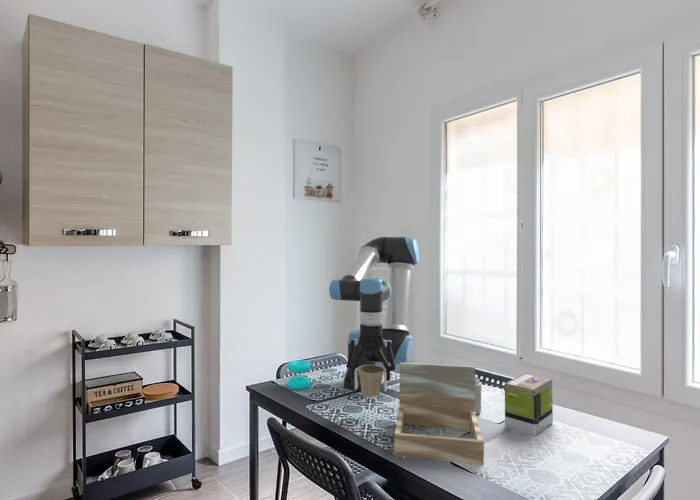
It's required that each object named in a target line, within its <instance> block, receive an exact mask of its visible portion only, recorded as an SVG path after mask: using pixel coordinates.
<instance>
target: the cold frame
mask: <svg viewBox="0 0 700 500" xmlns="http://www.w3.org/2000/svg"><path fill="white" fill-rule="evenodd" d="M475 377H476V366H474V365H473V366H470V365H469V366H468V365H453V364H452V365H451V364H433V363H417V362H416V363H414V362H413V363H412V362H407V363H400V364H399V394H398V395H399V399H398V400H399V401H398V402H399V405H398V411H397V418H396V423H395V427H394V428H395V430H394V435H393V436H394V437H393V439H394V440H393V441H394V446H393V448H394V449H393V454H394V455H393V457H399V458H408V459H418V460H419V459H420V460H429V461H443V462H450V463H451V462H452V463H462V464H463V463H464V464H473V465H474V464H475V465H484V464H485V442H484V438H483V434H482V430H481V428H480V427H481V426H480V424H479V420H478V418H477V415H476V413H475ZM404 425H407V426H418V427H420V426H421V427H431V428H445V429H455V430H456V429H458V430H469V432H470V436H471V438H465V437H454V436H452V437H451V436H442V435H441V436H440V435H428V434H427V435H426V434H416V433H404Z"/></svg>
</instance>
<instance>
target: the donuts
mask: <svg viewBox="0 0 700 500" xmlns="http://www.w3.org/2000/svg"><path fill="white" fill-rule="evenodd" d="M286 368H287V370H288V371H289V372H291V373H293V374H304V373H307V372H309V371H310V370H311V369H312V363H311V362H309V361H308V360H300V359H298V360H292V361H290V362H288V364H287V365H286ZM311 385H312V380H311V379H310V378H308V377H306V376H302V375H299V376H298V375H296V376H292V377H291V378H289V379H288V380H287V382H286V386H287V387H288V388H289V389H291V390H295V391H299V390H301V391H302V390H307V389H309V388H310V387H311Z"/></svg>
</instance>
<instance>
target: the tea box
mask: <svg viewBox="0 0 700 500" xmlns="http://www.w3.org/2000/svg"><path fill="white" fill-rule="evenodd" d="M553 402H554V401H553V379H552V378H546V377H541V376H536V375H531V374H527V373H526V374H525V373H523V374H520V375H519V376H517V377H515V378H513V379H511V380H509V381H507V382H505V383H504V427H505V428H507V429H511V430H514V431H516V430H517V431H516V432H521V433H524V434H526V433H527V435H529V436H536V435H537V434H538V433H540V432H541V431H543V430H544V429H545V428H547V427H548V426H550V425H552V423H553V422H554V421H553V420H554V417H553V415H554V413H553V410H554V409H553Z"/></svg>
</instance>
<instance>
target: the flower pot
mask: <svg viewBox="0 0 700 500" xmlns="http://www.w3.org/2000/svg"><path fill="white" fill-rule="evenodd" d="M357 370H358V374H359V376H360V384H361V391H360V393H361V395H362V396H364V397H373V396H374V397H377V396H379V395H380V394H381V386H382V380H383V376H384V371H385V370H386V369H385V367H384V366H381V365H363V366H359V367H358V368H357Z"/></svg>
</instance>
